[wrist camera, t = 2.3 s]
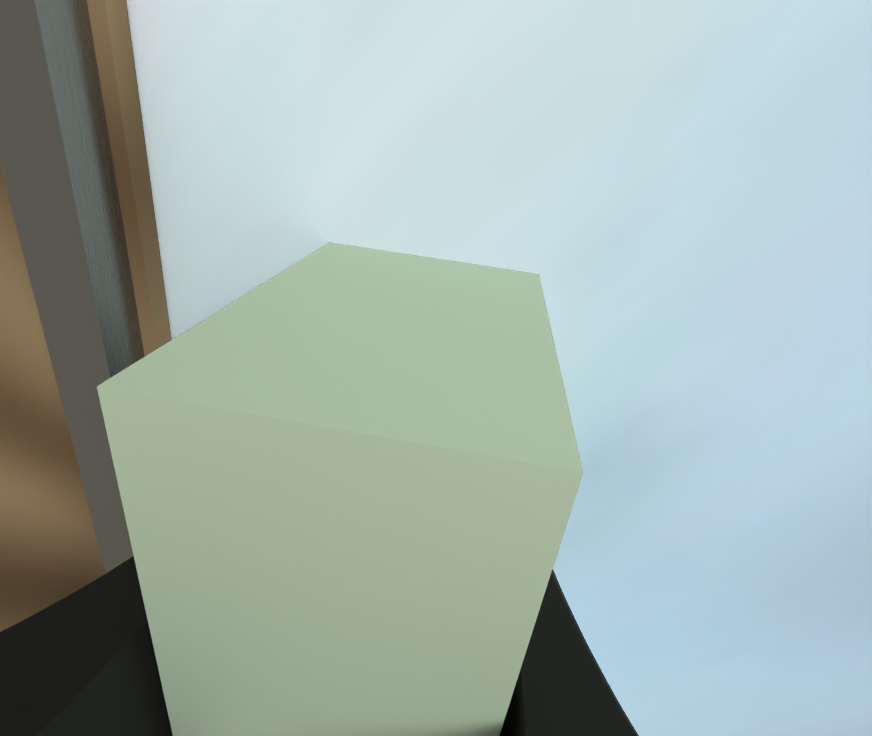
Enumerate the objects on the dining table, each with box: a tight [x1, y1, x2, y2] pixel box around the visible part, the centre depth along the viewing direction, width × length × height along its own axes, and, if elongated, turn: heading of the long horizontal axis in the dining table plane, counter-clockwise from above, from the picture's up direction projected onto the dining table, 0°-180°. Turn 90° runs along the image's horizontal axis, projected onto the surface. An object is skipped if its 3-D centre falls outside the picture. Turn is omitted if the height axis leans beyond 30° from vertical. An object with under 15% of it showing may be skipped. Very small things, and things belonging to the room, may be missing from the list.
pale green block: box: [97, 242, 583, 736], centre depth 9 cm, size 10×4×6 cm, turn 173°
